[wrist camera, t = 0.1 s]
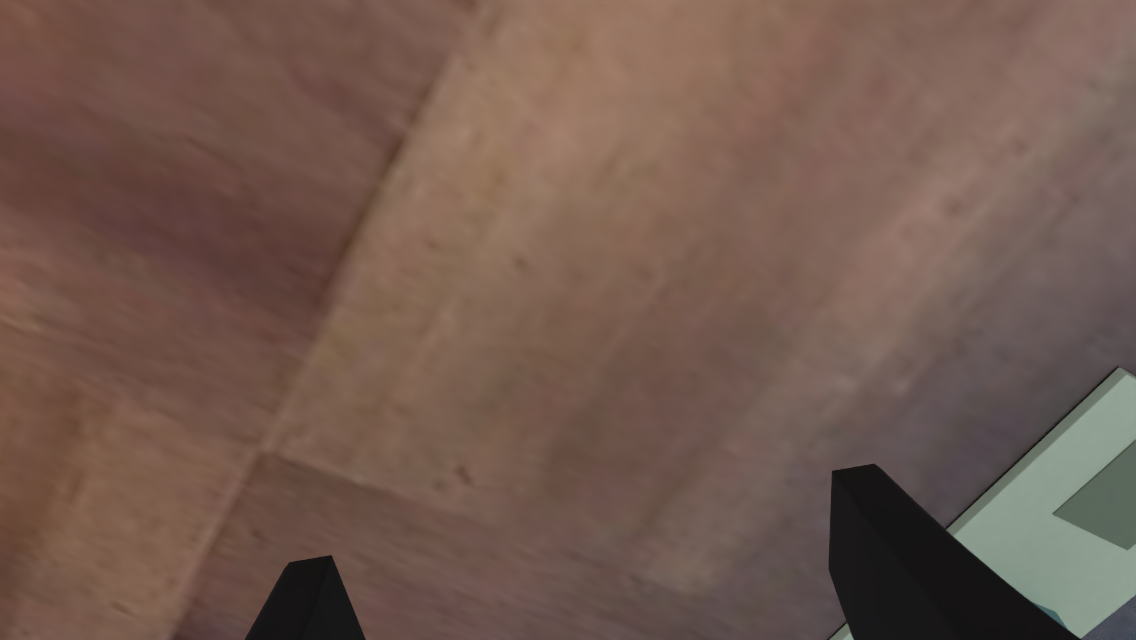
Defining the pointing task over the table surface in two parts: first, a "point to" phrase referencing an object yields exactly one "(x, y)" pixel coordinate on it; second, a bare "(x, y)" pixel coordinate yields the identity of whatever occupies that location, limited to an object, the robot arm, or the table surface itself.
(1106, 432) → the word mat
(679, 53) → the table surface
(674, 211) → the table surface
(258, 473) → the table surface
